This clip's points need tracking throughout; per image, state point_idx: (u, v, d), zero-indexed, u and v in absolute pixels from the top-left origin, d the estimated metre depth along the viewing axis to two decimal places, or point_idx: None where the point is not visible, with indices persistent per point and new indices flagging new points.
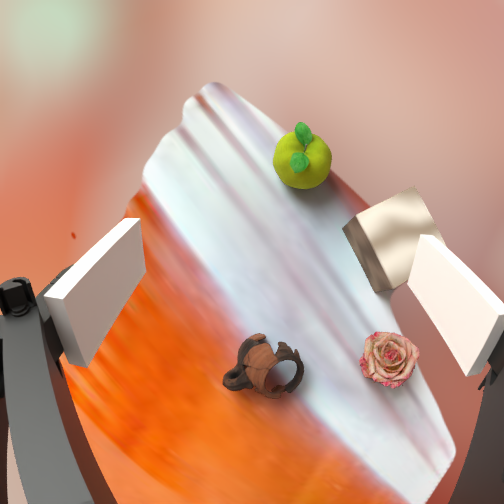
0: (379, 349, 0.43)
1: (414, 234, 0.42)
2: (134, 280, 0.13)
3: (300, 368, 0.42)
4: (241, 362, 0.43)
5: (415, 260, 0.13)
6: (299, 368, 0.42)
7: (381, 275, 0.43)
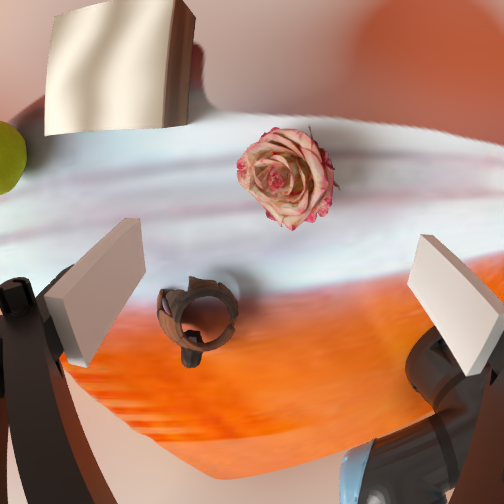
0: None
1: (108, 47, 0.19)
2: (134, 280, 0.13)
3: (209, 295, 0.32)
4: None
5: (415, 260, 0.13)
6: (208, 295, 0.32)
7: None
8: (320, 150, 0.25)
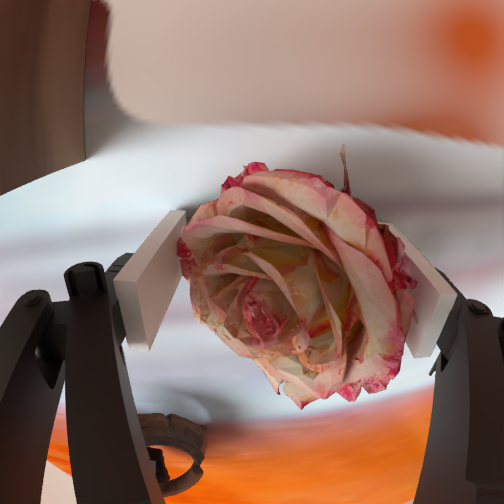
0: None
1: None
2: (180, 269, 0.14)
3: (151, 444, 0.16)
4: None
5: None
6: None
7: None
8: (379, 228, 0.09)
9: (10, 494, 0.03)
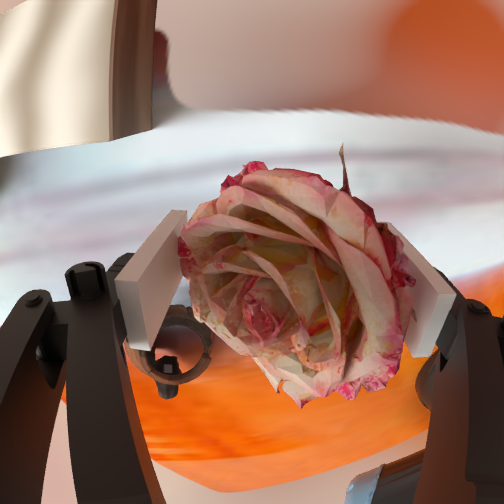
0: None
1: (44, 46, 0.13)
2: None
3: (175, 324, 0.27)
4: None
5: None
6: (175, 324, 0.27)
7: None
8: (378, 226, 0.09)
9: (11, 494, 0.03)
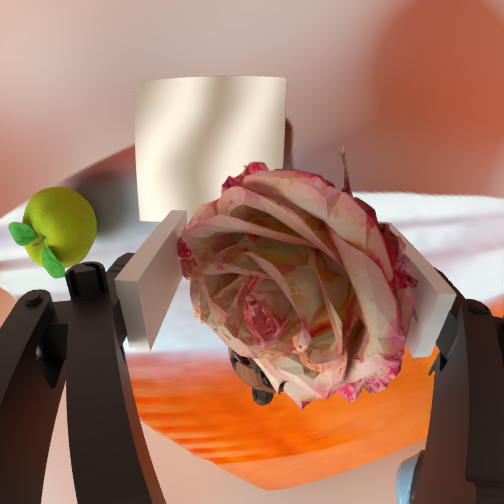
0: None
1: (214, 134, 0.23)
2: None
3: None
4: None
5: None
6: None
7: None
8: (379, 227, 0.09)
9: (11, 494, 0.03)
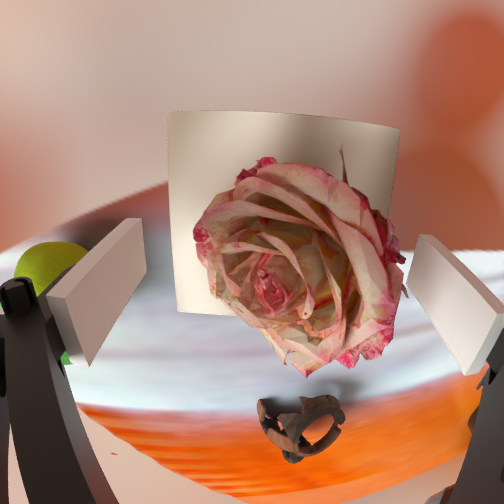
0: None
1: None
2: (135, 280, 0.13)
3: (324, 414, 0.29)
4: None
5: (414, 260, 0.13)
6: (323, 414, 0.29)
7: None
8: (372, 213, 0.11)
9: None
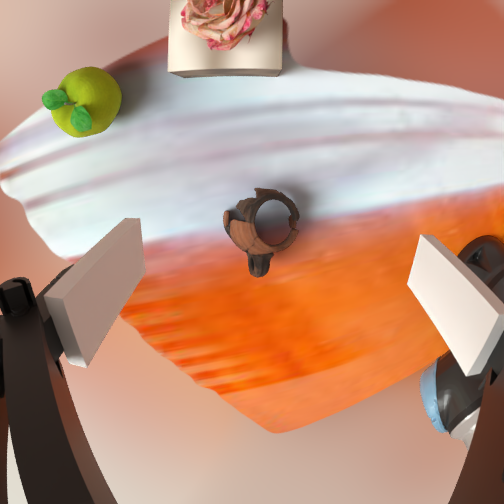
0: (200, 15, 0.22)
1: None
2: (134, 280, 0.13)
3: (275, 198, 0.38)
4: None
5: (415, 260, 0.13)
6: (275, 199, 0.38)
7: (258, 70, 0.30)
8: None
9: None
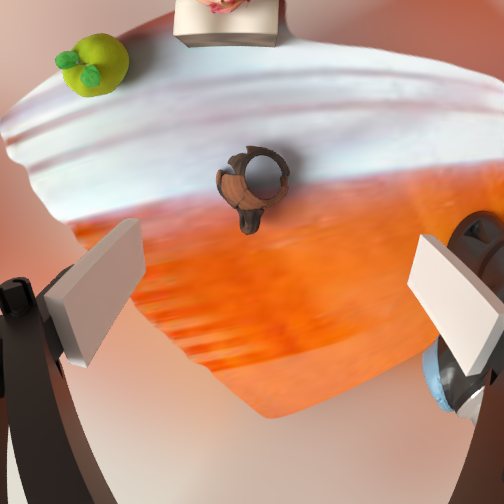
0: None
1: None
2: (134, 280, 0.13)
3: (266, 153, 0.38)
4: (233, 207, 0.42)
5: (415, 260, 0.13)
6: (265, 154, 0.38)
7: (256, 36, 0.30)
8: None
9: None
